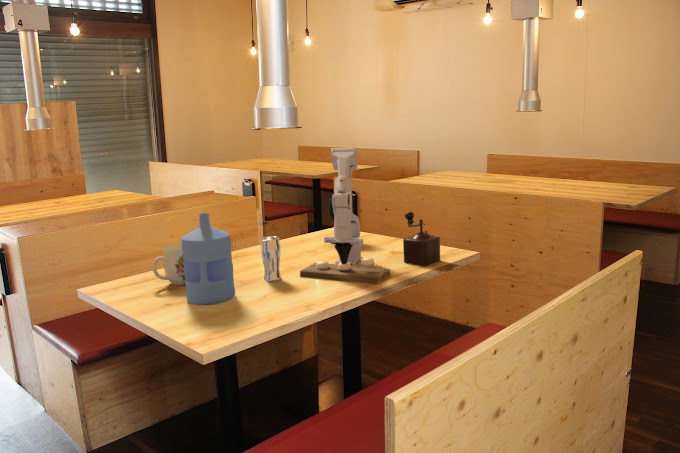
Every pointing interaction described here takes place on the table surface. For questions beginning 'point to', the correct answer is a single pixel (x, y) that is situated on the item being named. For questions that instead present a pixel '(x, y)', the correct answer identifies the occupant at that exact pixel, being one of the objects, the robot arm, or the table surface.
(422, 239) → the manual coffee grinder
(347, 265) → the knob
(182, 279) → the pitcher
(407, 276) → the table surface
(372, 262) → the knob
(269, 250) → the beer glass
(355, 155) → the robot arm
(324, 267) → the knob
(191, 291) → the water jug
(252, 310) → the table surface
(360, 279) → the wooden board with recesses
